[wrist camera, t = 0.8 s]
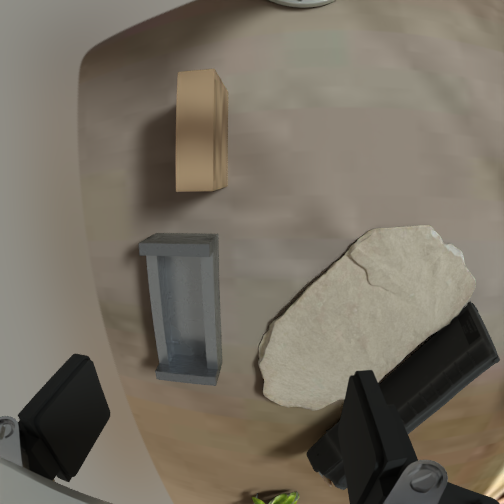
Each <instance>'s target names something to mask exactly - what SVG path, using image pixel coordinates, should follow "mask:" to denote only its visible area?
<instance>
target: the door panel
mask: <svg viewBox="0 0 504 504" xmlns="http://www.w3.org/2000/svg"><path fill="white" fill-rule="evenodd" d="M227 153H228V91H227V89H226V88H225V86H224V84H223V83H222V81H221V79H220V77H219V76H218V74H217V72H216V71H215V69H206V70H194V71H184V72H178V80H177V105H176V192H185V191H215V190H218V189H221V188H224V187H227Z"/></svg>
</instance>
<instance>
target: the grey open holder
mask: <svg viewBox="0 0 504 504" xmlns="http://www.w3.org/2000/svg"><path fill="white" fill-rule="evenodd" d="M139 254H140V255H146V260H147V272H148V282H149V291H150V300H151V309H152V316H153V324H154V331H155V338H156V345H157V351H158V357H159V365H158V367H157V369H156V371H155V372H156V378H157V379H159V380H167V381H175V382H183V383H192V384H202V385H213V386H216V384H217V380H218V377H219V373H220V369H221V365H222V345H221V321H220V291H219V252H218V234H184V233H156V234H154V235H152V236H150V237H149V238H147V239H145V240H143V241H142V242H140V243H139Z"/></svg>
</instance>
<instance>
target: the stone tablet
mask: <svg viewBox="0 0 504 504" xmlns="http://www.w3.org/2000/svg"><path fill="white" fill-rule="evenodd" d="M475 287H476V280H475V278H474V277H473V276H472V275H471V273H470V271H469V270H468V269H467V268H466V265H465V264H464V257H463V254H462V251H460V250H459V249H458V248H456V247H455V246H453V244H451V243H450V244H445V243H443V241H442V239H441V237H440V236H439V235H438V234H437V233H436V231H435V230H434V229H433V228H432V227H431V226H430V225H419V226H402V227H396V228H377V229H373V230H370V231H368V232H367V233H365V234H364V235H363V236H362V237H360V238H359V239H358V240H357V242H356V243H354V244H353V245H352V246H350V248H349V250H348V251H347V252H346V253H345V255H344V256H343V257H342V258H341V259H340V260H338V261H337V262H334V263H333V265H332V266H331V267H330V268H329V269H328V270H327V272H326V273H324V274H323V275H322V276H321V277H320V278H318V279H317V280H316V281H315V282H313V283H312V284H311V285H310V286H308V287H307V288H306V290H305V291H304V292H303V294H302V295H301V296H300V297H299V298H298V299H297V300H296V301H295V302H294V303H293V304H292V305H291V306H290V307H289V308H288V309H287V311H286V312H285V313H284V314H283V315H282V316H280V317H278V318H277V319H276V320H273V322H272V323H271V324H270V325H269V330H268V331H267V332H266V333H265V334H263V339H262V341H261V343H260V345H259V360H258V365H259V368H260V371H261V374H262V378H263V379H264V387H263V395H264V396H265V397H267V398H268V399H270V400H271V401H274V402H275V403H277V404H279V405H282V406H286V407H291V406H292V407H302V408H305V409H310V410H318V409H321V408H323V407H325V406H327V405H329V404H331V403H333V402H335V401H337V400H340V399H345V396H346V391H347V386H348V381H349V377H350V376H351V375H354V374H355V372H356V371H362V370H372V371H373V372H374V375H375V377H376V379H377V382H379V381H380V380H381V379H382V378H383V377H384V376H385V375H386V374H387V373H388V372H389V371H391V370H392V369H393V368H394V367H395V366H396V365H397V364H399V363H400V362H401V361H402V360H403V359H404V358H405V357H406V355H408V354H409V353H410V352H411V351H413V350H414V349H415V348H416V347H417V346H418V345H419V344H420V343H422V342H423V341H424V340H426V339H427V337H429V336H430V335H432V334H434V333H436V332H437V331H439V330H440V329H441V328H443V327H445V326H447V325H448V324H450V322H451V320H452V319H453V318H454V317H456V316H458V315H459V313H460V312H461V310H462V308H463V307H464V306H465V304H466V303H467V302H468V301H469V298H470V297H471V295H472V293H473V291H474V289H475Z"/></svg>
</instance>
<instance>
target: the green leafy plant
mask: <svg viewBox="0 0 504 504" xmlns="http://www.w3.org/2000/svg"><path fill="white" fill-rule="evenodd" d="M298 498H299V494H298V492H292V493H290V494H286V493H283V494H281V495H278V496H277V497H275V498H274V499H272V500H271V501H270V502H269V503H268V504H296V503H297V500H298ZM252 500H253V502H254V504H265V503H264V502H263V501H262V500H260V499H258V493H257V495H256V498H255V497H252Z"/></svg>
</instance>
